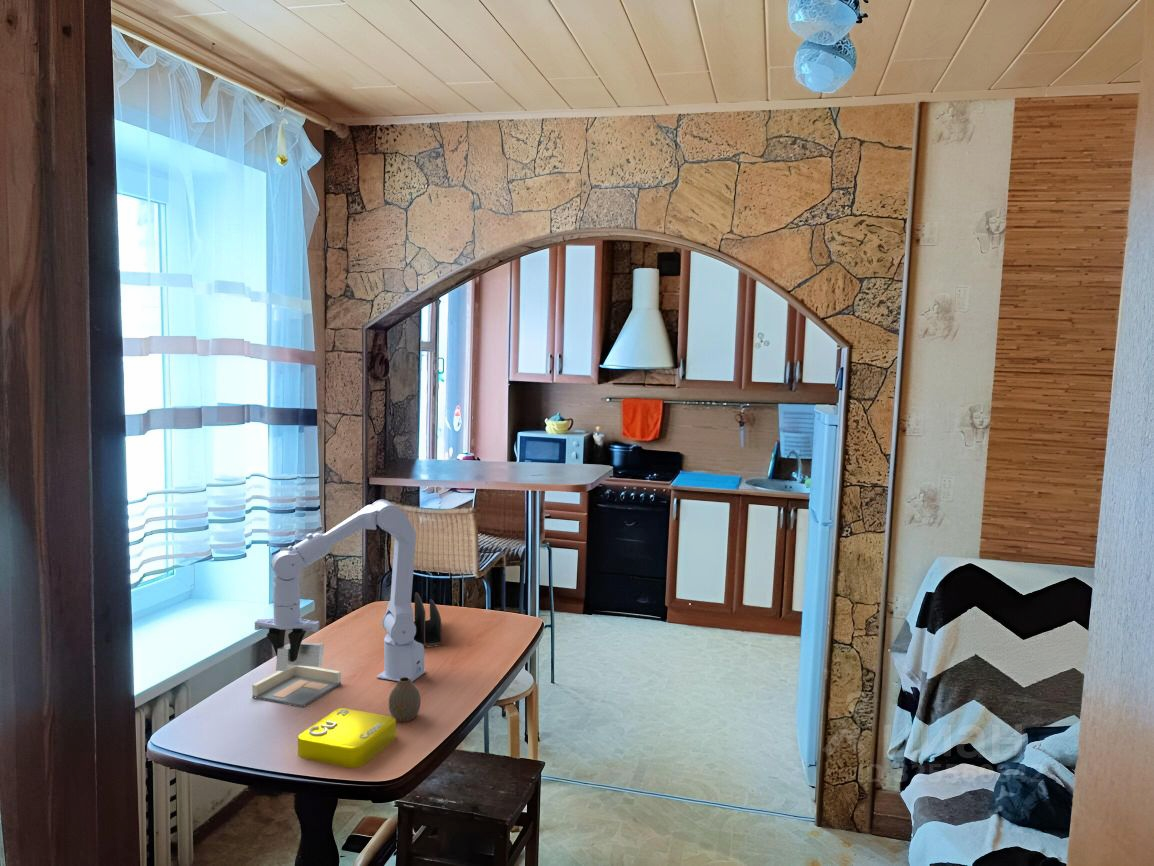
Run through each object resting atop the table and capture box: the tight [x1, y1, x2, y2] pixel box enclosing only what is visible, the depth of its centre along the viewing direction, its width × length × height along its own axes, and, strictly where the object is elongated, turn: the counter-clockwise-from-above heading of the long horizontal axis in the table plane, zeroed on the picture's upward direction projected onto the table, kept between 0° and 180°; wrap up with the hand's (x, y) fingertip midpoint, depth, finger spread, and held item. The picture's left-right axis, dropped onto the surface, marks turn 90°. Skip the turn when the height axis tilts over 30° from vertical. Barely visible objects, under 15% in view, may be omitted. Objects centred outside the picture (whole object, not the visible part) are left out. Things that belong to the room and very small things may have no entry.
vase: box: [388, 677, 422, 722], centre depth 170 cm, size 7×7×9 cm
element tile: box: [297, 707, 397, 769], centre depth 157 cm, size 15×15×5 cm
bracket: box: [275, 641, 325, 672], centre depth 182 cm, size 9×8×5 cm
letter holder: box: [413, 591, 443, 648], centre depth 221 cm, size 10×20×14 cm, turn 19°
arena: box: [251, 666, 342, 708], centre depth 183 cm, size 14×14×3 cm
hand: (287, 659), depth 181 cm, fingers closed on bracket, 2 cm apart
